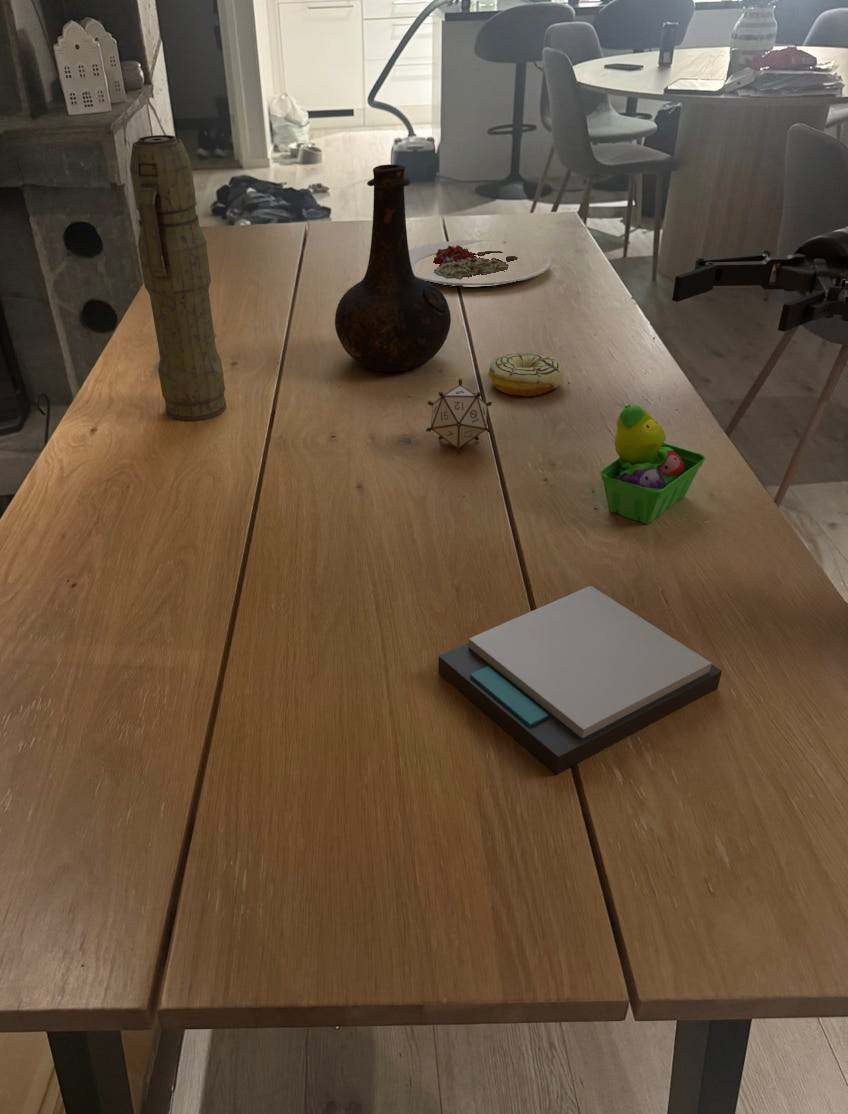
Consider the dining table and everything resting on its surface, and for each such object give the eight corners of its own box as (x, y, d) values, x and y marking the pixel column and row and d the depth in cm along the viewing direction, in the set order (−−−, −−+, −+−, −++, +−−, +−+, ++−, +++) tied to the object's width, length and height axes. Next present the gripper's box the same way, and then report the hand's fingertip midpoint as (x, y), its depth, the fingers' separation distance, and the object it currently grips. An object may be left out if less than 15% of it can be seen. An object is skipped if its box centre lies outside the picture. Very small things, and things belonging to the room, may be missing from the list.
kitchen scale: (718, 688, 85) (724, 661, 83) (556, 775, 77) (559, 747, 75) (591, 604, 96) (594, 579, 94) (438, 673, 88) (438, 647, 86)
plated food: (507, 302, 172) (508, 283, 170) (367, 280, 185) (367, 262, 183) (574, 260, 192) (576, 243, 190) (444, 242, 205) (444, 226, 203)
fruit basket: (652, 533, 106) (667, 439, 100) (583, 508, 111) (594, 417, 105) (700, 495, 113) (718, 405, 106) (633, 473, 118) (647, 385, 111)
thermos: (154, 425, 134) (105, 148, 113) (177, 392, 143) (136, 130, 122) (216, 426, 133) (178, 147, 112) (235, 393, 142) (203, 129, 121)
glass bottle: (418, 391, 141) (418, 184, 124) (315, 371, 148) (302, 174, 131) (468, 351, 153) (475, 158, 136) (371, 335, 160) (366, 150, 144)
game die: (451, 464, 130) (454, 390, 130) (505, 457, 124) (507, 380, 124) (410, 453, 123) (413, 375, 123) (464, 445, 117) (467, 363, 117)
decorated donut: (572, 395, 138) (575, 370, 135) (501, 403, 136) (502, 378, 134) (548, 369, 146) (550, 345, 144) (480, 376, 144) (481, 351, 142)
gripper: (751, 212, 120) (641, 244, 110) (951, 251, 104) (844, 293, 94) (739, 274, 125) (632, 310, 114) (929, 320, 109) (824, 367, 98)
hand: (727, 303), depth 104 cm, fingers open, 13 cm apart
